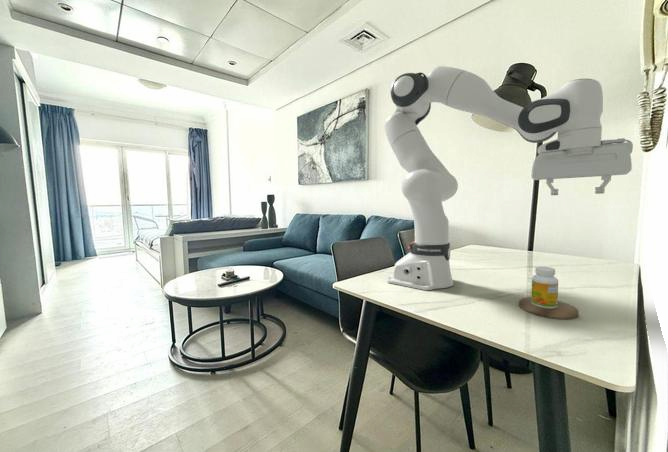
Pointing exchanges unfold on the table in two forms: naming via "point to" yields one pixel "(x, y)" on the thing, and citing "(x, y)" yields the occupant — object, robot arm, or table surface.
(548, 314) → the walnut coaster
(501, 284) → the table surface
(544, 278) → the supplement bottle
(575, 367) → the table surface
